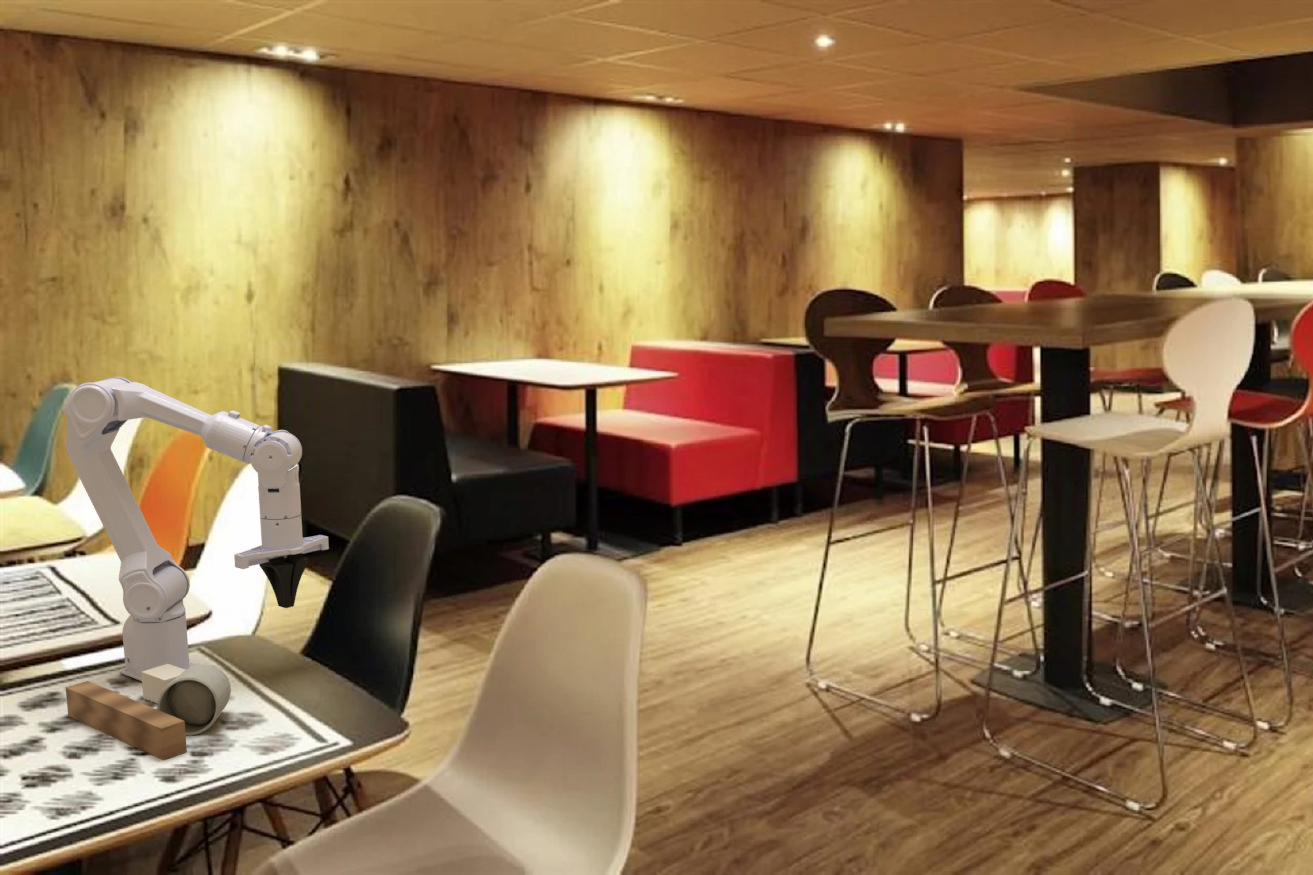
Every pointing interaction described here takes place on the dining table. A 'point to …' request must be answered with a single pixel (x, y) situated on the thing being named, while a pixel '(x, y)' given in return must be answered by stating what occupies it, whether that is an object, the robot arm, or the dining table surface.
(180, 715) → the ceramic mug
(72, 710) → the walnut rail
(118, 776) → the dining table surface
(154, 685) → the beige rectangular block
